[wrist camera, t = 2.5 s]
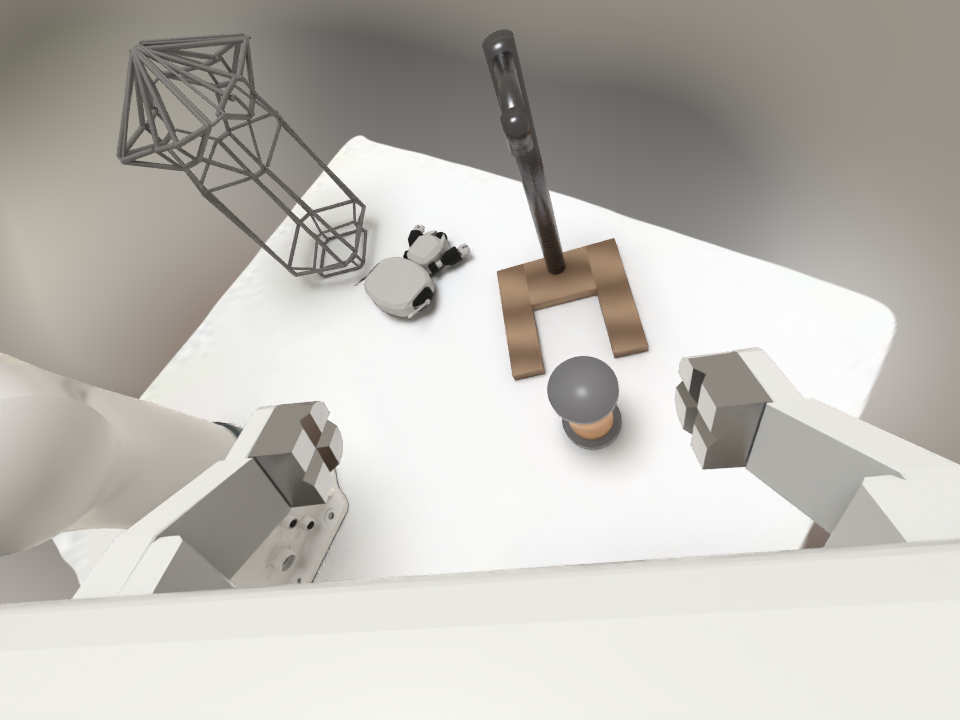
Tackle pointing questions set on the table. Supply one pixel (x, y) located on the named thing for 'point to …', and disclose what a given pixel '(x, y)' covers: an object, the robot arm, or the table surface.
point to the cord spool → (586, 401)
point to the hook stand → (523, 141)
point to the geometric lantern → (149, 92)
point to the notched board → (581, 278)
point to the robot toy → (411, 273)
